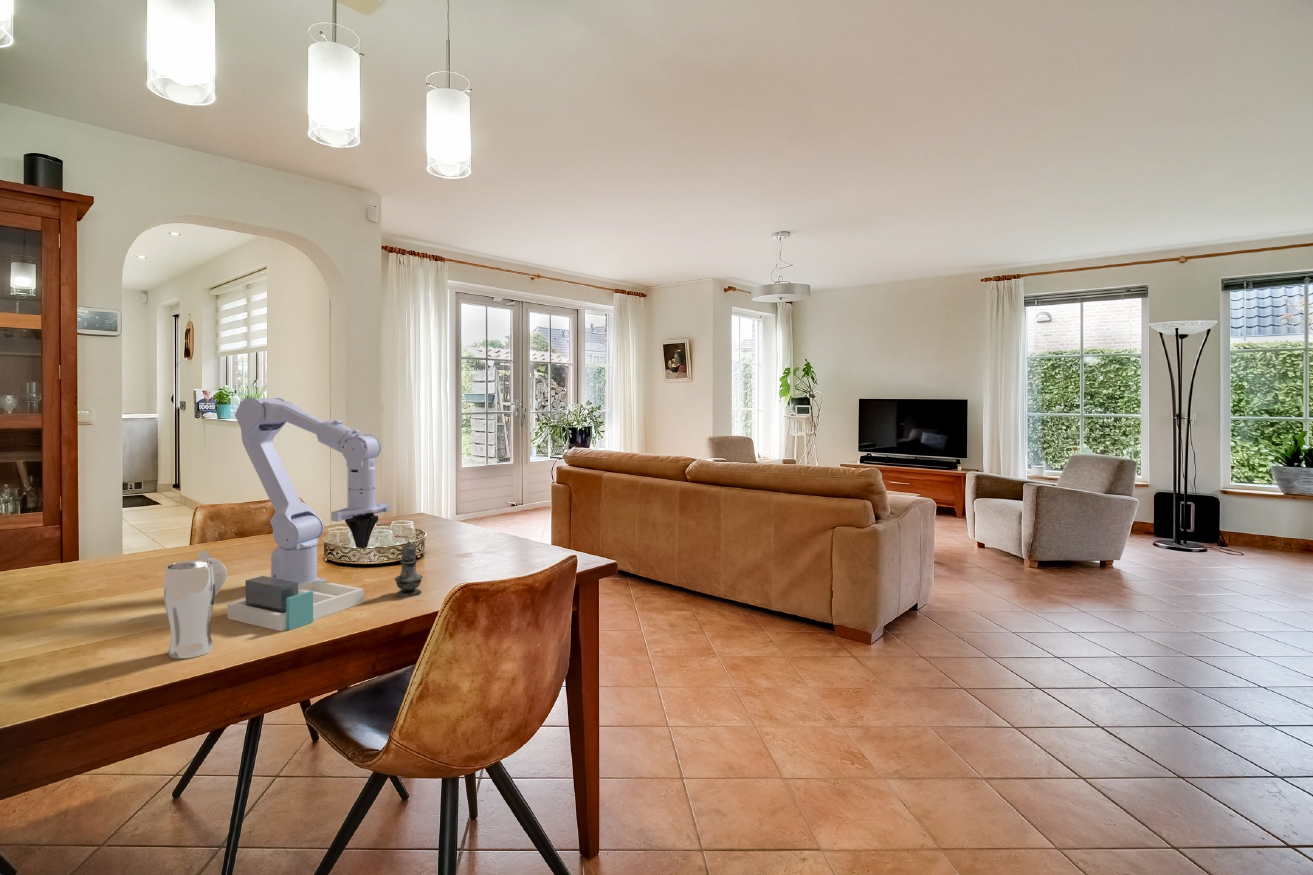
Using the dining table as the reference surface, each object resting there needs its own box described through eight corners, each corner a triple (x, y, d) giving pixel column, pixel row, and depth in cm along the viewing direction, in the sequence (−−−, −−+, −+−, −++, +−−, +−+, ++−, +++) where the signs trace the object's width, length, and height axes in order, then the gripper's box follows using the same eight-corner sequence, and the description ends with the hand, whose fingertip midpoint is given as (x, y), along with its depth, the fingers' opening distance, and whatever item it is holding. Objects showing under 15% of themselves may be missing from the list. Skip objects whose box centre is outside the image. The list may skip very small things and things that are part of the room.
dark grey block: (245, 615, 123) (245, 580, 122) (263, 610, 126) (262, 575, 126) (281, 623, 119) (281, 587, 119) (298, 617, 122) (298, 582, 122)
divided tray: (227, 618, 122) (227, 588, 122) (314, 592, 140) (314, 565, 139) (284, 632, 116) (284, 600, 116) (367, 602, 134) (367, 575, 133)
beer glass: (182, 644, 109) (181, 559, 109) (225, 643, 110) (224, 559, 109) (154, 660, 102) (152, 570, 102) (199, 660, 103) (198, 570, 102)
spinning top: (236, 607, 129) (236, 549, 128) (198, 619, 122) (198, 557, 121) (210, 602, 131) (209, 545, 131) (171, 613, 124) (170, 553, 123)
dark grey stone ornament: (412, 598, 138) (413, 544, 137) (388, 596, 139) (389, 542, 138) (427, 590, 143) (428, 538, 143) (404, 588, 144) (404, 536, 144)
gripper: (348, 493, 134) (348, 556, 135) (399, 486, 148) (399, 543, 148) (324, 491, 137) (324, 552, 138) (376, 483, 150) (376, 539, 151)
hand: (361, 547), depth 143 cm, fingers closed
